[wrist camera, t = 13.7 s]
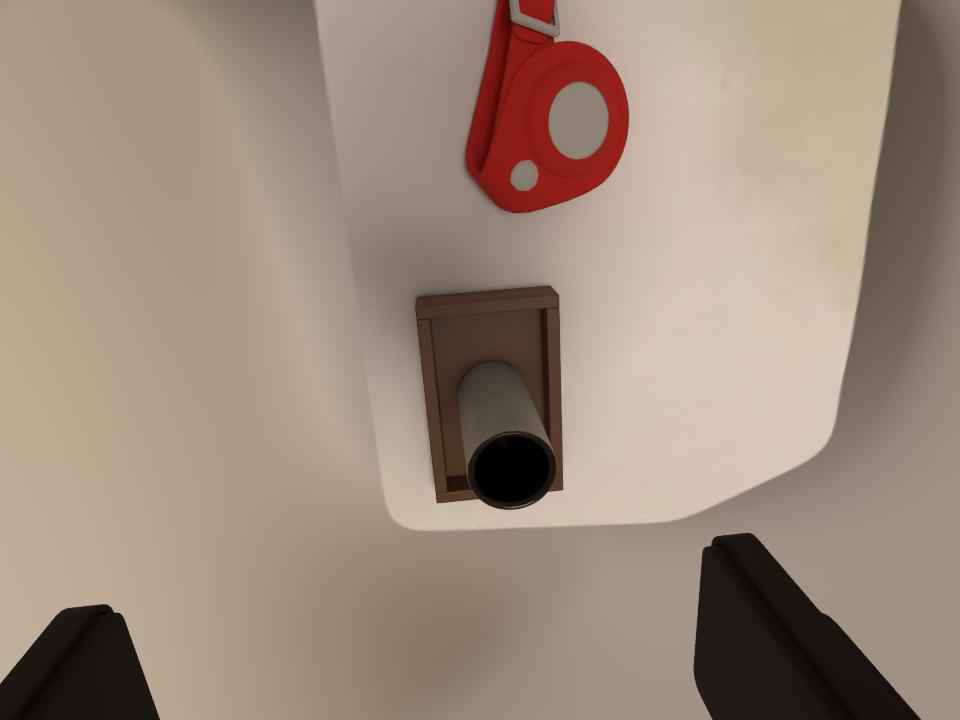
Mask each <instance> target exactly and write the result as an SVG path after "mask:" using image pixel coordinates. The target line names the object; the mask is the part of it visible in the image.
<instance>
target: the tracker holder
mask: <svg viewBox="0 0 960 720" xmlns="http://www.w3.org/2000/svg"><path fill="white" fill-rule="evenodd" d="M510 12H511V20H509V14H510ZM559 34H560V26H559V18H558V9H557V1H556V0H498V5H497V10H496V16H495V21H494V27H493V33H492V39H491V45H490V51H489V55H488V59H487V63H486V68H485V72H484V76H483V80H482V84H481V89H480V93H479V97H478V101H477V105H476V109H475V114H474V118H473V122H472V126H471V130H470V135H469V139H468V144H467V149H466V163H467V168H468V170H469V172H470V174H471V175H472V176H473V178H474V179H475V180H476V181H477V183H478V184H479V185H480V186H481V187H482V189H483V190H484V191H485V192H486V194H487V195H488V196H489V197H490V199H491V200H492V201H493V202H494V203H495V204H496V205H497V206H498V207H500V208H502V209H504V210H506V211H509V212H512V213H526V212H532V211H536V210H540V209H543V208H547V207H550V206H553V205H556V204H559V203H563V202H566V201H569V200H571V199H574V198H576V197H579V196H581V195H583V194H585V193H587V192H589V191H591V190H593V189H594V188H596V187H598V186H599V185H600V184H602V183H603V182H604V181H605V180H606V179H607V178H608V177H609V176H610V175H611V173H612V172H613V170H614V169H615V167H616V166H617V164H618V162H619V160H620V158H621V155H622V153H623V150H624V147H625V143H626V140H627V134H628V126H629V110H628V101H627V97H626V92H625V89H624V86H623V83H622V81H621V79H620V77H619V75H618V73H617V71H616V70H615V68H614V67H613V65H612V64H611V63H610V61H609V60H608V59H607V58H606V57H605V56H604V55H603V54H601V53H600V52H599V51H597V50H596V49H594V48H592V47H591V46H589V45H586V44H583V43H580V42H574V41H563V42H556V43H554V38H553V37H557V36H558V35H559Z"/></svg>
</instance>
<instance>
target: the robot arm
mask: <svg viewBox="0 0 960 720" xmlns="http://www.w3.org/2000/svg"><path fill="white" fill-rule="evenodd" d="M694 677H695V682H696V685H697V688H698V691H699V693H700V696H701V698H702V700H703V702H704V704H705V705H706V708H707V710H708V712H709V714H710V716H711V717H712V719H713V720H921V719H920V718H919V717H918V716H917V715H916V713H915V712H914V711H913V710H912V709H911V708H910V706H909V705H908V704H907V703H906V702H905V701H904V700H903V698H902V697H901V696H900V695H899V694H898V693H897V692H896V691H895V689H894V688H893V687H892V686H891V685H890V684H889V682H888V681H887V680H886V679H885V678H884V677H883V676H882V674H881V673H880V672H879V671H878V670H877V669H876V667H875V666H874V665H873V664H872V663H871V662H870V661H869V660H868V658H867V657H866V656H865V655H864V654H863V653H862V651H861V650H860V649H859V648H858V647H857V646H856V645H855V643H854V642H853V641H852V640H851V639H850V638H849V637H848V635H847V634H846V633H845V632H844V631H843V630H842V629H841V627H840V626H839V625H838V624H837V623H836V622H835V621H834V620H832V618H830V617H829V616H827V615H826V614H823V613H821V612H820V611H819V610H818V609H817V607H816V606H815V605H814V604H813V603H812V601H811V600H810V599H809V598H808V597H807V596H806V594H805V593H804V592H803V591H802V590H801V589H800V587H799V586H798V585H797V584H796V583H795V582H794V580H793V579H792V578H791V577H790V576H789V575H788V574H787V572H786V571H785V570H784V569H783V568H782V567H781V565H780V564H779V563H778V562H777V561H776V560H775V558H774V557H773V556H772V555H771V554H770V552H769V551H768V550H767V549H766V548H765V547H764V546H763V544H762V543H761V542H760V541H759V540H758V539H757V538H756V537H755V536H754V535H753V534H751V533H741V534H733V535H723V536H717V537H714V539H713V541H712V544H711V546H708V547H705V548H704V549H703V553H702V565H701V578H700V592H699V604H698V617H697V630H696V644H695V656H694ZM0 720H160V718H159V715H158V713H157V710H156V707H155V704H154V701H153V699H152V696H151V693H150V690H149V687H148V684H147V682H146V679H145V676H144V673H143V670H142V668H141V665H140V662H139V659H138V656H137V653H136V651H135V648H134V645H133V642H132V639H131V637H130V634H129V631H128V628H127V625H126V623H125V620H124V618H123V616H122V615H121V614H120V613H114V611H113V610H112V608H111V607H110V606H109V605H105V604H101V605H92V606H83V607H74V608H67V609H64V610H62V611H61V612H60V613H59V614H58V615H56V616H55V618H54V619H53V620H52V621H51V623H50V624H49V625H48V626H47V627H46V629H45V630H44V631H43V632H42V634H41V635H40V636H39V637H38V639H37V640H36V641H35V642H34V643H33V645H32V646H31V647H30V648H29V649H28V651H27V652H26V653H25V654H24V656H23V657H22V658H21V659H20V661H19V662H18V663H17V664H16V665H15V667H14V668H13V669H12V670H11V671H10V673H9V674H8V675H7V676H6V678H5V679H4V680H3V681H2V682H1V684H0Z"/></svg>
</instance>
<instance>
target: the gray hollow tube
mask: <svg viewBox="0 0 960 720" xmlns="http://www.w3.org/2000/svg"><path fill="white" fill-rule="evenodd" d="M458 401H459V410H460V419H461V427H462V436H463V445H464V454H465V462H466V471H467V478H468V482H469V485H470V487H471V489H472V491H473V493H474V494H475V495H476V496H477V497H478V498H479V499H480V500H481V501H482V502H484V503H486V504H487V505H489V506H492V507H495V508H498V509H504V510H514V509H520V508H524V507H527V506H530V505H532V504H534V503H535V502H537V501H539V500H540V499H541V498H542V497H543V496H545V494H546V493H547V492H548V491H549V490H550V488H551V487H552V485H553V483H554V480H555V477H556V473H557V461H556V457H555V454H554V451H553V449H552V446H551V444H550V442H549V439H548V437H547V434H546V432H545V430H544V427H543V425H542V423H541V420H540V418H539V415H538V413H537V411H536V408H535V406H534V403H533V401H532V399H531V396H530V394H529V391H528V389H527V387H526V384H525V382H524V380H523V378H522V377H521V375H520V374H519V372H518V371H517V370H516V369H515V368H513V367H512V366H510V365H509V364H506V363H503V362H499V361H487V362H483V363H480V364H477V365H476V366H474V367H472V368H471V369H470V370H469V371H468V372H467V373H466V374H465V375H464V376H463V378H462V380H461V382H460V385H459V390H458Z"/></svg>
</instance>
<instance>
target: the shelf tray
mask: <svg viewBox="0 0 960 720" xmlns="http://www.w3.org/2000/svg"><path fill="white" fill-rule="evenodd" d="M415 309H416V318H417V327H418V336H419V345H420V354H421V363H422V373H423V382H424V391H425V400H426V409H427V418H428V428H429V437H430V446H431V455H432V464H433V473H434V482H435V492H436V501H437V503H446V502H455V501H465V500H474V499H479V498H478V497H477V496H476V495H475V494H474V493H473V491H472V489H471V487H470V485H469V482H468V478H467V471H466V462H465V454H464V445H463V436H462V427H461V419H460V410H459V401H458V390H459V385H460V382H461V380H462V378H463V376H464V375H465V374H466V373H467V372H468V371H469V370H470V369H471V368H472V367H474V366H476V365H477V364H480V363H483V362H487V361H499V362H503V363H506V364H509V365H510V366H512V367H513V368H515V369H516V370H517V371H518V372H519V374H520V375H521V377H522V378H523V380H524V382H525V384H526V387H527V389H528V391H529V394H530V396H531V399H532V401H533V403H534V406H535V408H536V411H537V413H538V415H539V418H540V420H541V423H542V425H543V427H544V430H545V432H546V434H547V437H548V439H549V442H550V444H551V446H552V449H553V451H554V454H555V457H556V461H557V473H556V477H555V480H554V483H553V485H552V487H551V488H550V490H549V491H548V492H551V491H560V490H563V456H562V410H561V364H560V317H559V294H558V293H557V292H556V291H555V290H554V289H553V288H552V287H551V286H540V287H528V288H516V289H505V290H493V291H481V292H470V293H458V294H446V295H434V296H423V297H417V298H416V306H415Z"/></svg>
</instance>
